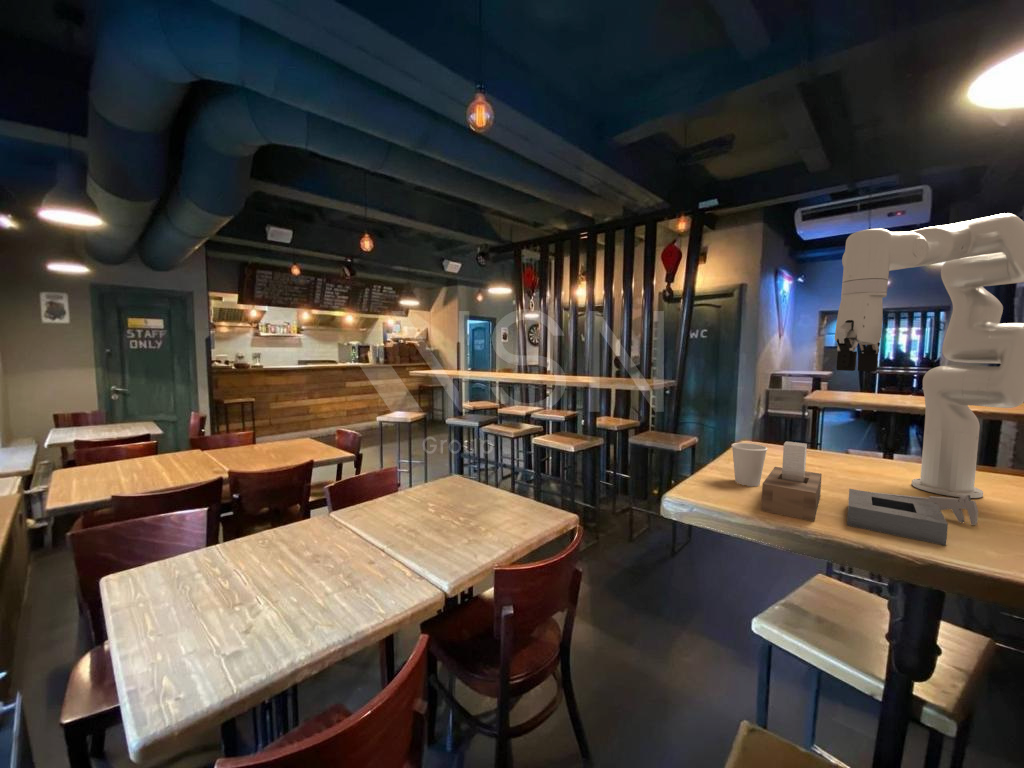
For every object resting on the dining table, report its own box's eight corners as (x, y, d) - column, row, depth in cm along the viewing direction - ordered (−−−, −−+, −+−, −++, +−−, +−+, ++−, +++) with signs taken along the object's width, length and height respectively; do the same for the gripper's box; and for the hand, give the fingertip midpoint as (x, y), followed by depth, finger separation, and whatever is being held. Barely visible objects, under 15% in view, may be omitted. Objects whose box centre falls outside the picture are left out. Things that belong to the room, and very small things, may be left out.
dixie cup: (736, 487, 108) (738, 448, 108) (725, 477, 117) (726, 442, 116) (771, 489, 107) (773, 450, 106) (757, 479, 115) (759, 443, 115)
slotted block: (773, 489, 106) (774, 466, 106) (820, 498, 100) (821, 473, 100) (761, 510, 92) (762, 483, 92) (814, 521, 86) (815, 493, 86)
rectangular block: (782, 499, 99) (785, 441, 98) (803, 503, 97) (806, 443, 96) (780, 504, 96) (783, 444, 95) (801, 508, 94) (805, 446, 93)
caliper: (977, 527, 85) (979, 496, 85) (974, 527, 85) (977, 497, 84) (859, 495, 104) (861, 470, 103) (856, 495, 103) (858, 470, 103)
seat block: (848, 505, 96) (849, 488, 95) (934, 521, 87) (936, 502, 86) (846, 525, 85) (848, 505, 84) (946, 545, 76) (947, 524, 76)
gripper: (861, 296, 97) (854, 370, 98) (823, 288, 89) (816, 369, 90) (903, 293, 91) (895, 372, 92) (866, 283, 82) (858, 371, 83)
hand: (856, 370), depth 91 cm, fingers open, 9 cm apart
